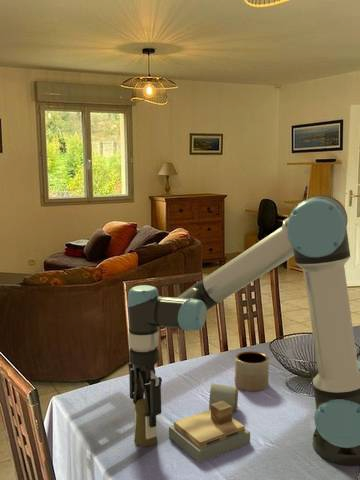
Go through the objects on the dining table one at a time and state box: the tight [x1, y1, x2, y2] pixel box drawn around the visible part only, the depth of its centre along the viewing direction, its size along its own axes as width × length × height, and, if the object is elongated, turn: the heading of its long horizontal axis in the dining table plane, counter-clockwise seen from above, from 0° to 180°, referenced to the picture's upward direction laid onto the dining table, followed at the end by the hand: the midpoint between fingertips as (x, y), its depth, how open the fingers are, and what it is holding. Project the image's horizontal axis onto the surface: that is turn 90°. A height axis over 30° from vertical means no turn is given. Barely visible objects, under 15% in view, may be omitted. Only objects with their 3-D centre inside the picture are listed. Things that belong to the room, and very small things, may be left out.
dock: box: [168, 424, 251, 464], centre depth 132 cm, size 14×16×3 cm
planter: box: [234, 350, 270, 393], centre depth 163 cm, size 11×11×10 cm
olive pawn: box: [133, 397, 158, 448], centre depth 131 cm, size 6×6×11 cm
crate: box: [211, 401, 233, 425], centre depth 133 cm, size 4×4×4 cm
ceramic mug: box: [208, 383, 239, 413], centre depth 149 cm, size 11×8×8 cm
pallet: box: [173, 409, 246, 448], centre depth 131 cm, size 12×14×2 cm
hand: (145, 431), depth 131 cm, fingers closed on olive pawn, 5 cm apart
